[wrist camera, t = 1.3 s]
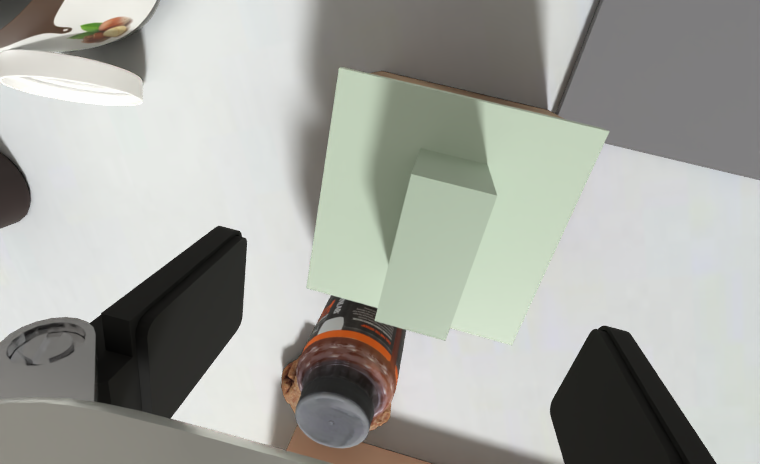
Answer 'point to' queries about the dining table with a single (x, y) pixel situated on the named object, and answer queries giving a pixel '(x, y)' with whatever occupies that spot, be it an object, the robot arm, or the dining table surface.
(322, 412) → the supplement bottle
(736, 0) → the mat
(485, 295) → the lid
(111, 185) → the dining table surface
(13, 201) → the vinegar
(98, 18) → the spread jar
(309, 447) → the wooden tray
